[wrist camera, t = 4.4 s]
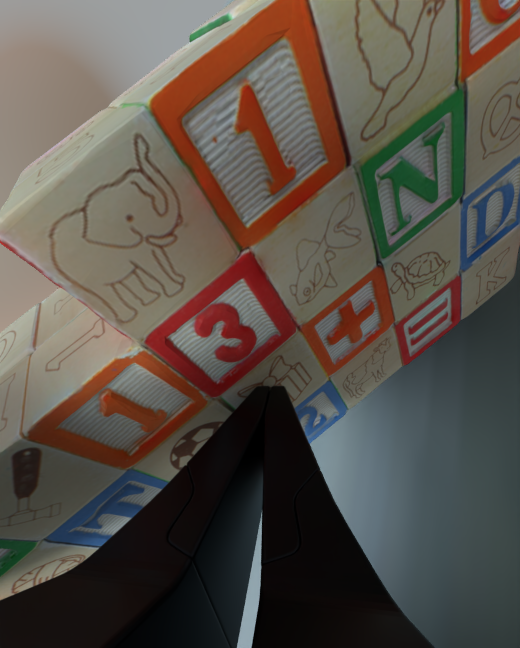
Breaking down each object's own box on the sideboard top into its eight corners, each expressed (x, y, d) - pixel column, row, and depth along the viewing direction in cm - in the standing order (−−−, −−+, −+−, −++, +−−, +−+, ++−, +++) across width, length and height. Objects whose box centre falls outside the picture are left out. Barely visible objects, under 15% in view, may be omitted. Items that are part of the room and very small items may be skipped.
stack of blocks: (123, 607, 13) (-577, 664, 4) (108, 473, 17) (-237, 368, 9) (518, 276, 13) (623, -285, 5) (402, 231, 18) (347, -92, 9)
